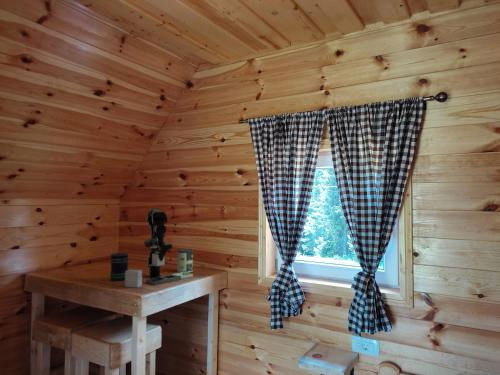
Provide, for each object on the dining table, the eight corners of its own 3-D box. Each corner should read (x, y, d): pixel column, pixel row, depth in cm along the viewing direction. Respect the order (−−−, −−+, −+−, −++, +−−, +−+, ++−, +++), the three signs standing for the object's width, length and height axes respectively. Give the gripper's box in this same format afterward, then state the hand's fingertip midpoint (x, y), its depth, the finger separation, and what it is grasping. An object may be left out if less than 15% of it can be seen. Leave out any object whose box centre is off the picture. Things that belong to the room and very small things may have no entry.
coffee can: (191, 269, 248) (191, 248, 249) (193, 272, 238) (194, 250, 239) (176, 270, 245) (176, 249, 246) (177, 273, 235) (178, 251, 236)
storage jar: (107, 281, 211) (108, 255, 211) (113, 278, 220) (113, 253, 221) (125, 281, 211) (125, 255, 212) (129, 277, 221) (130, 253, 222)
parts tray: (171, 276, 224) (171, 274, 224) (183, 274, 231) (183, 272, 231) (180, 279, 218) (180, 276, 218) (192, 276, 225) (192, 274, 225)
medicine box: (142, 286, 201) (142, 270, 201) (137, 287, 196) (137, 271, 197) (129, 285, 203) (129, 269, 203) (124, 287, 198) (125, 270, 199)
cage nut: (151, 265, 209) (152, 251, 209) (159, 264, 213) (159, 250, 213) (157, 266, 206) (157, 251, 206) (164, 265, 210) (164, 251, 210)
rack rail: (145, 282, 208) (145, 279, 208) (171, 277, 222) (171, 274, 222) (155, 285, 202) (155, 281, 202) (181, 279, 216) (181, 276, 216)
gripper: (137, 233, 210) (136, 260, 210) (156, 235, 198) (156, 264, 197) (153, 232, 219) (153, 258, 218) (173, 234, 206) (172, 261, 206)
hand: (158, 260), depth 210 cm, fingers closed on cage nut, 5 cm apart
